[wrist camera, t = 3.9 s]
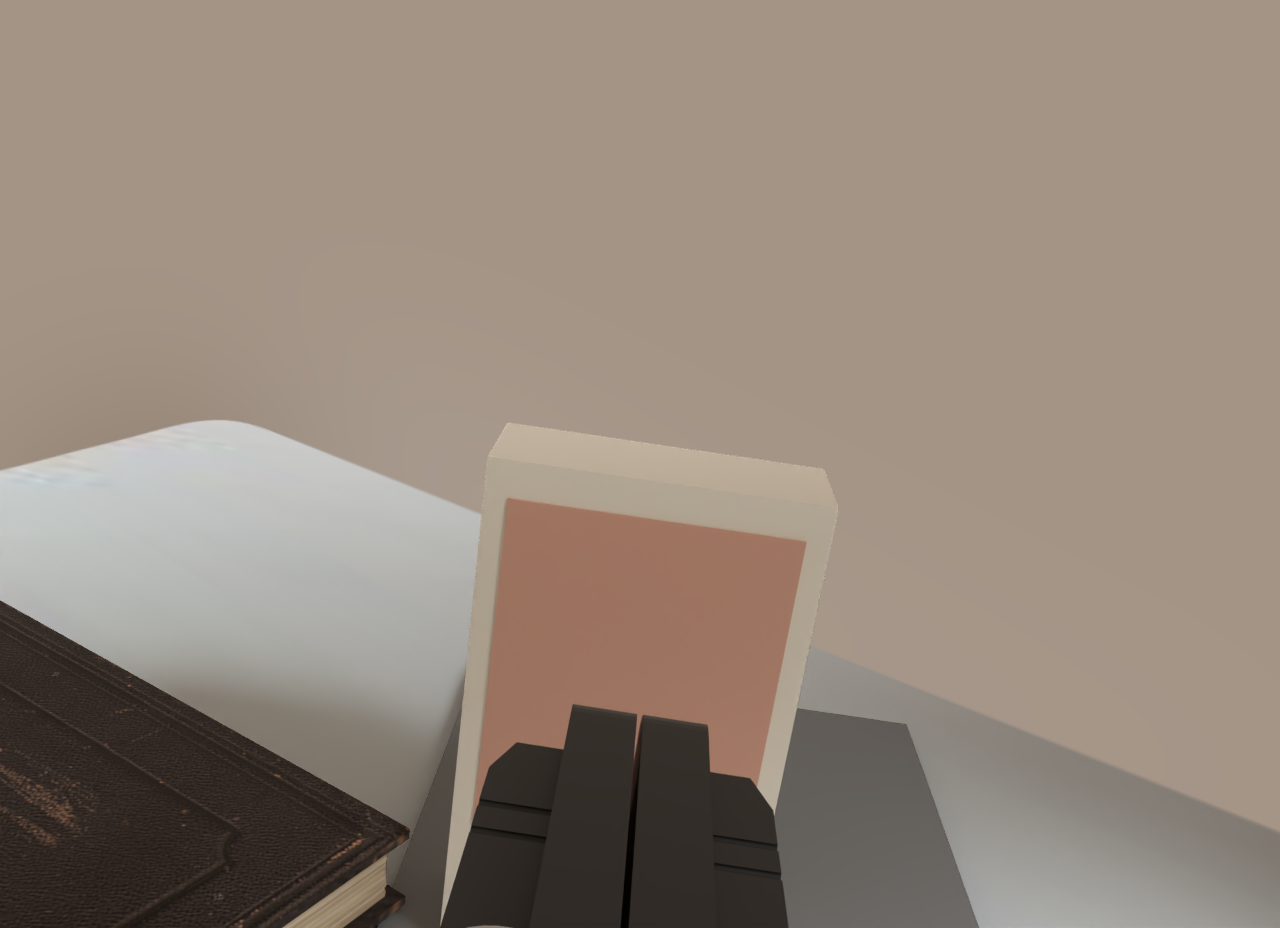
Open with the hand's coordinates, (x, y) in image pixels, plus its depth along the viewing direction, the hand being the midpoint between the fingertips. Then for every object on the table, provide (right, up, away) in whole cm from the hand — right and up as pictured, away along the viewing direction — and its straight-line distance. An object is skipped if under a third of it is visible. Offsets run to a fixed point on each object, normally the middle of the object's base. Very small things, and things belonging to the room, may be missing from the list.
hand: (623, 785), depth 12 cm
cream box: (-1, -8, +14) cm, 16 cm away
